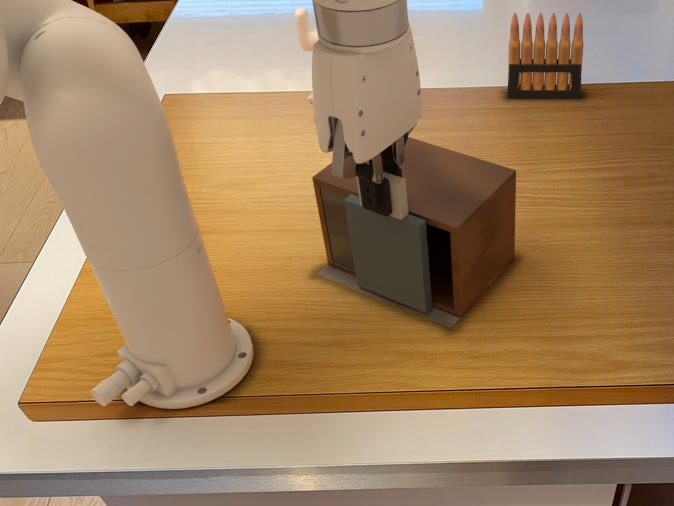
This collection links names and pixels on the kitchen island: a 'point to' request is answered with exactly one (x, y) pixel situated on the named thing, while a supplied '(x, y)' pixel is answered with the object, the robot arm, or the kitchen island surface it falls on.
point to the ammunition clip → (545, 60)
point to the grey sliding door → (391, 249)
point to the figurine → (305, 35)
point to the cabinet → (435, 225)
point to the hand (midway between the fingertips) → (383, 205)
